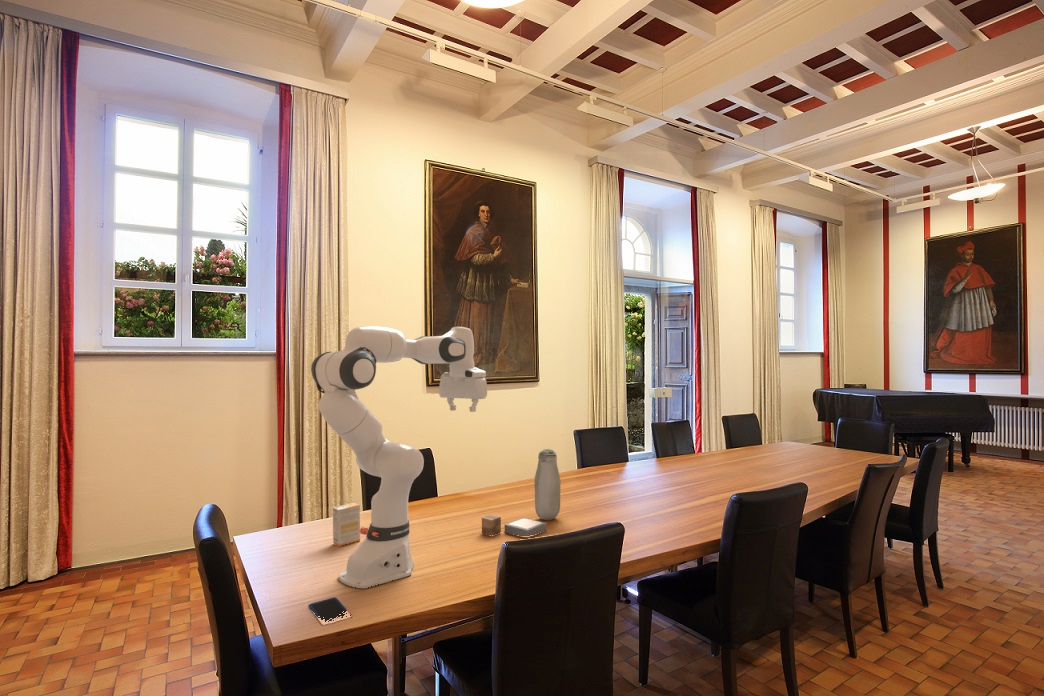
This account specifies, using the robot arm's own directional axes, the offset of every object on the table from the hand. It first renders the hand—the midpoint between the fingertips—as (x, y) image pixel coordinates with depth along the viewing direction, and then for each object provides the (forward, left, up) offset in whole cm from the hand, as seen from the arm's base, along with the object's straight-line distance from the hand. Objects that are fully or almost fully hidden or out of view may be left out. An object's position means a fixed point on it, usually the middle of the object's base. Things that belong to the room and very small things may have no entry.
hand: (462, 411), depth 191 cm
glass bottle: (+39, -8, -47) cm, 62 cm away
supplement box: (-27, +32, -47) cm, 62 cm away
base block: (+21, -11, -46) cm, 52 cm away
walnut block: (+12, -2, -46) cm, 48 cm away
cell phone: (-59, -11, -47) cm, 76 cm away
